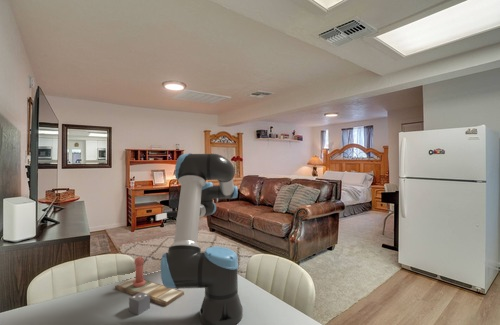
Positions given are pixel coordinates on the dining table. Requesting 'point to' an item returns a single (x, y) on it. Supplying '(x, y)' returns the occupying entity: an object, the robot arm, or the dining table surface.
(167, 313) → the dining table surface
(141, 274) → the pawn
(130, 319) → the dining table surface
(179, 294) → the board
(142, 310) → the die
